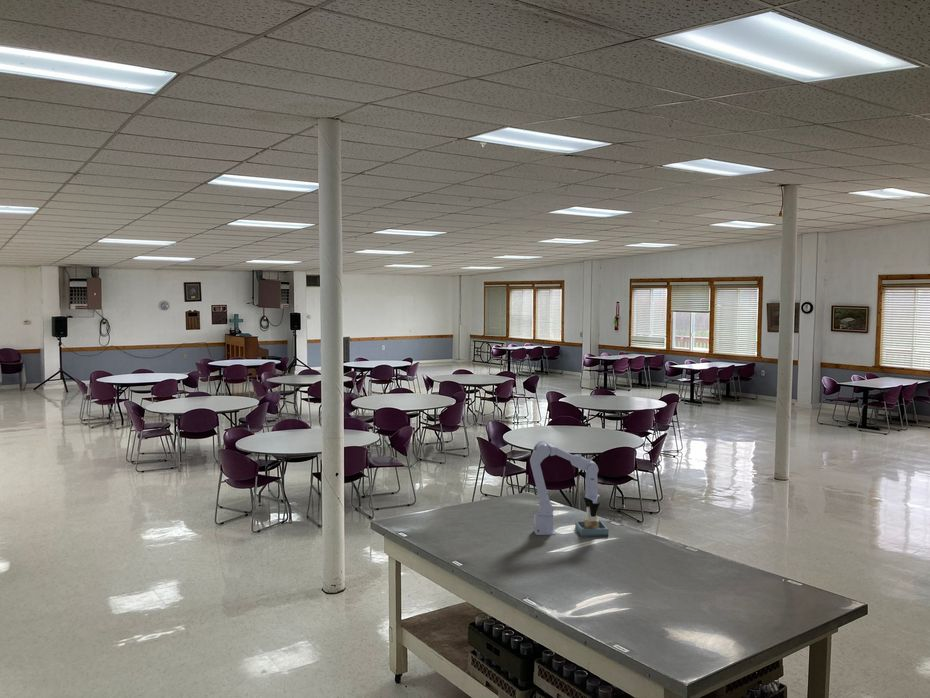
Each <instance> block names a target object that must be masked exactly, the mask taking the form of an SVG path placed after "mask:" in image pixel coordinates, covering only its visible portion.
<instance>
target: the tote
mask: <svg viewBox="0 0 930 698" xmlns="http://www.w3.org/2000/svg"><path fill="white" fill-rule="evenodd" d="M598 521H599V529H584V520H577V521H575V522H574V525H575V526H574V527H575V528H574V529H575V530H576V532H578V533H577V534H578V535H580V537H581V538H588V537H589V538H592V537H593V538H595V537H609V528H608V527H607V526H606V524H605V523H604V522H603V521H602V520H598Z"/></svg>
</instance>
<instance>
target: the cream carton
mask: <svg viewBox="0 0 930 698" xmlns="http://www.w3.org/2000/svg"><path fill="white" fill-rule="evenodd" d="M597 514H598V512H597V513H596V517H591V513H590V507H587V509H586V519H587V520H588V521H597V520H598V515H597Z"/></svg>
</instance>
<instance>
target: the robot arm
mask: <svg viewBox="0 0 930 698" xmlns="http://www.w3.org/2000/svg"><path fill="white" fill-rule="evenodd" d="M549 456H550V457H553V456H557V457H560V458H563V459H565V460H567V461H569V462H570V464H571V466H574V467H575V468H578V469H579V470H581V471H585V487H584V488H585V494H584V496H583V497H582V498H583V501H584V503H585V509H586V510H587V507H590V513H591V517H596V513H597V514H598V509H599V506H600V505H601V503H600V502H599V501H598V498H600V497H601V495H600V494H598V473H599V470H600V469H599V467H598V464H596V462H595V461H593V460H591V459H590V458H585V457H584V456H582V454H581V453H579V454H571V453H569V452H567V451H566V450H564V449H562V448H560V447H558V446H556V445H554V444H551V443H550V442H548V443H547V442H546V441H543V440H541V441H538V442H537V443H536V444H535V446H533V451H532V453H531V456H530V458H529V463H530V467H531V471H532V477H533V480H534V482H535V483H534V484H535V487H536V491H537V492H536V493H537V497H538V500H539V502H538V507H539V511H538V514H534V515H533V532H534V534H535V535H536V536H551V535H553V536H554V535H557V534H556V532H555V530H554V506H553V504H552V501H551V500H550V499H549V495H548V492H547V491H548V490H547V486H546V483H545V479H544V475H543V470H542V467H541V464H542V462H543V461H544V460H545V459H546V458H547V457H549Z"/></svg>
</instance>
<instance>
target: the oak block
mask: <svg viewBox="0 0 930 698" xmlns="http://www.w3.org/2000/svg"><path fill="white" fill-rule="evenodd" d="M583 521H584V529H599V521H600V520H599V519H597V521H588V520H587V518H584V520H583Z"/></svg>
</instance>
